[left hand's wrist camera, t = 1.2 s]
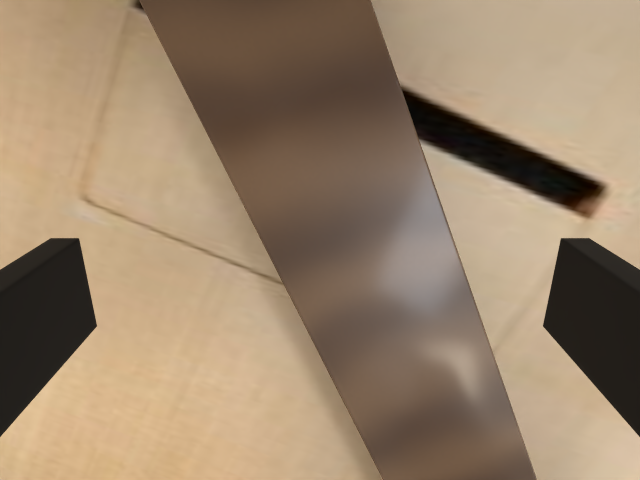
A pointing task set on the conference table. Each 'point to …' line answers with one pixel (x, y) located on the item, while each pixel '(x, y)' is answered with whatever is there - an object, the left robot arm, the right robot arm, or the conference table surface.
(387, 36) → the conference table surface
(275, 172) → the wide beam
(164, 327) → the conference table surface
